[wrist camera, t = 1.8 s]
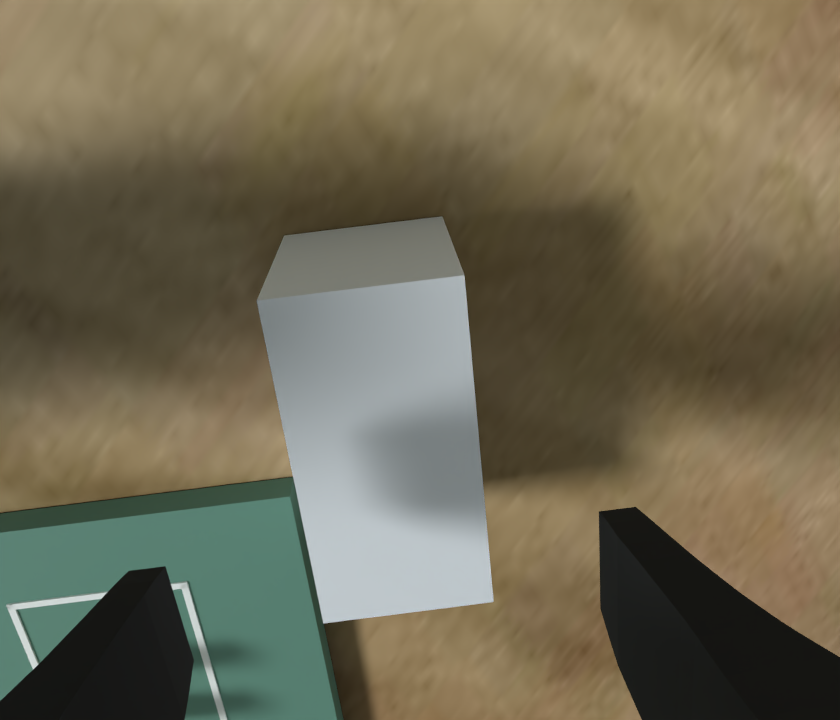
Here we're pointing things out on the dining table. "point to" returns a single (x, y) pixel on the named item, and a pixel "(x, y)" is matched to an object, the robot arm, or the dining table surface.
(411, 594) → the block
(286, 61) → the dining table surface
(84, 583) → the board
